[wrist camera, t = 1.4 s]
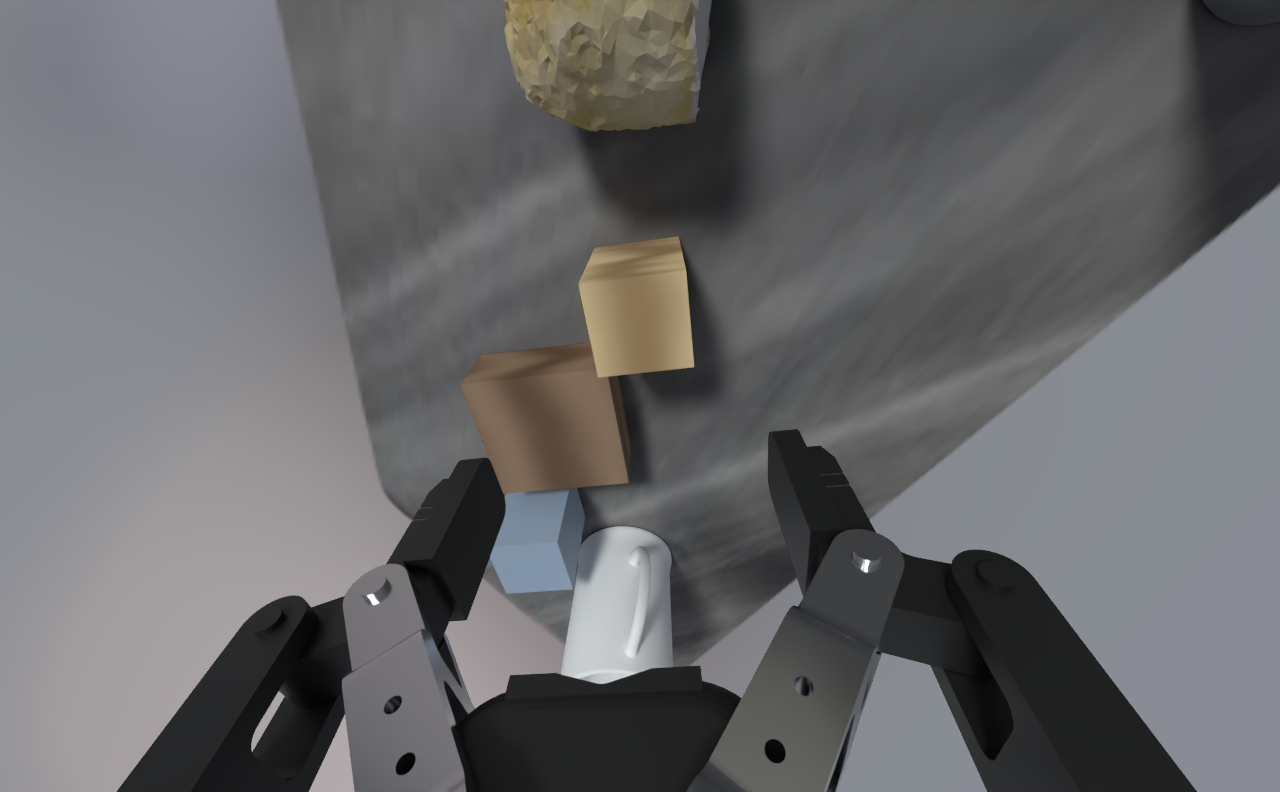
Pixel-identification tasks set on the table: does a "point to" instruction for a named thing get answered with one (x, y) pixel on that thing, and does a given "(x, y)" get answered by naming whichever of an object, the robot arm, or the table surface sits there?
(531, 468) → the walnut slab
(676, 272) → the oak block
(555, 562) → the slate block
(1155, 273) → the table surface
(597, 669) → the mug
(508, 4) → the coral
